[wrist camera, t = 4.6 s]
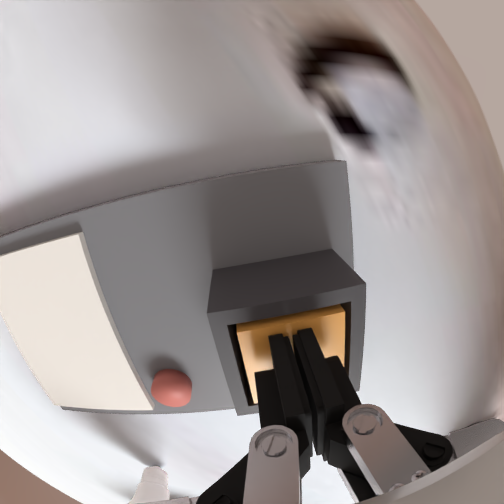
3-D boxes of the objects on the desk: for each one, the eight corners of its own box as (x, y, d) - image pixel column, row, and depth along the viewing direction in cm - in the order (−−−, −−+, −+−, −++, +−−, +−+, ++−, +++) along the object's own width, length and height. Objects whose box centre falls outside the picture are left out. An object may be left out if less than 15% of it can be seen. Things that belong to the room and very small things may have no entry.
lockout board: (335, 159, 14) (389, 166, 9) (343, 371, 18) (370, 429, 13) (-7, 238, 14) (-59, 268, 8) (68, 397, 18) (45, 444, 13)
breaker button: (325, 283, 13) (344, 311, 10) (328, 352, 14) (342, 384, 12) (235, 299, 12) (237, 332, 10) (250, 367, 14) (254, 403, 11)
